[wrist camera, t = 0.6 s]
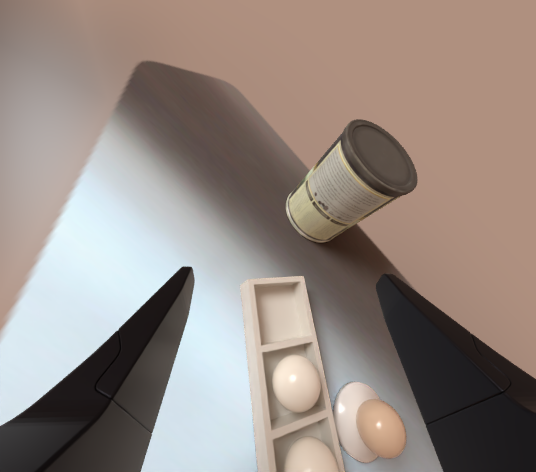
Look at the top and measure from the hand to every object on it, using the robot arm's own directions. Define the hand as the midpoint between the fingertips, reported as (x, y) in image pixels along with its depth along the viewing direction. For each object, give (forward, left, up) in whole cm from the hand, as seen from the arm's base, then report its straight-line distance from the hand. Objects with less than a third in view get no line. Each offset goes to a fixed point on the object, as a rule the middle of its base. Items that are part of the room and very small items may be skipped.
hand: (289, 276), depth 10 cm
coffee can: (+14, -16, -16) cm, 27 cm away
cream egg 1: (-7, -6, -15) cm, 18 cm away
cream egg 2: (-14, -6, -15) cm, 22 cm away
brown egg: (-13, -15, -15) cm, 26 cm away
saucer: (-13, -15, -16) cm, 26 cm away
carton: (-7, -6, -16) cm, 19 cm away
